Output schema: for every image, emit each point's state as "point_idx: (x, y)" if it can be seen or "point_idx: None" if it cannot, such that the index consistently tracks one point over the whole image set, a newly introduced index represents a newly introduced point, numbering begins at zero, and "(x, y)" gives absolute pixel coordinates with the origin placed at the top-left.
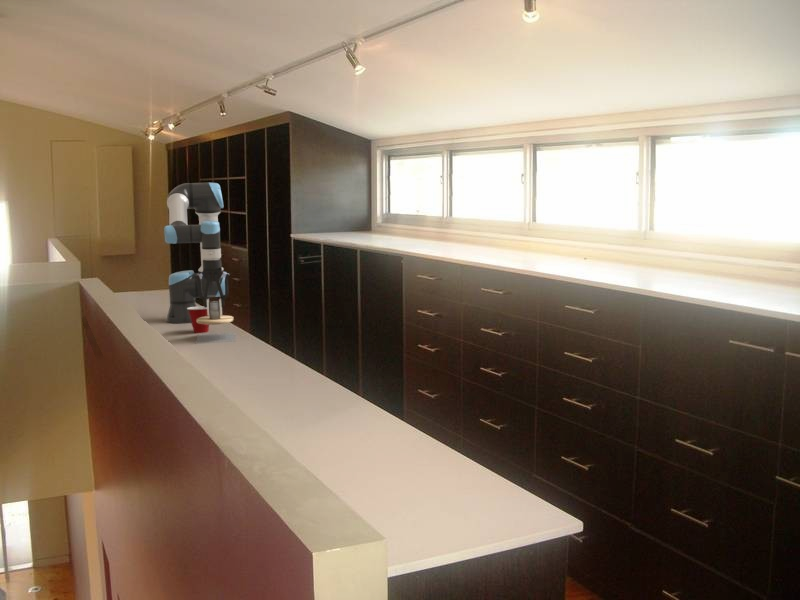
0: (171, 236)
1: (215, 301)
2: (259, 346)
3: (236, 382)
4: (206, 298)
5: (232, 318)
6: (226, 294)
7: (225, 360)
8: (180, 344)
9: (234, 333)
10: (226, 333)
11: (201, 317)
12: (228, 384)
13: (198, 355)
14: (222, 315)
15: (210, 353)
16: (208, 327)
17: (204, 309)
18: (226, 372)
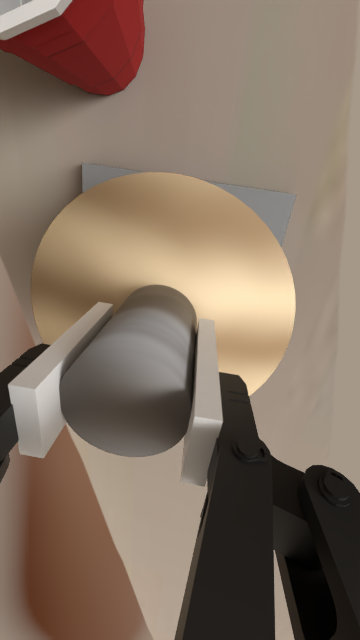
0: None
1: (141, 382)
2: (307, 447)
3: (175, 633)
4: (1, 471)
5: (275, 363)
6: (304, 587)
7: (174, 534)
8: (28, 306)
9: (283, 209)
10: (241, 189)
11: (57, 238)
12: (161, 635)
13: (107, 472)
14: (230, 214)
15: (140, 466)
16: (139, 39)
17: (40, 17)
18: (165, 595)
